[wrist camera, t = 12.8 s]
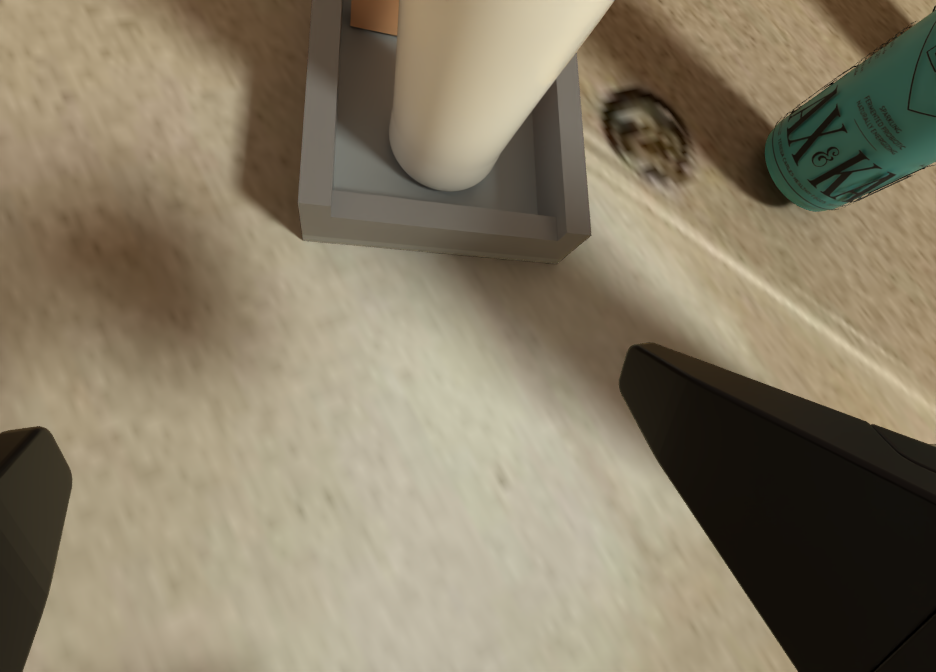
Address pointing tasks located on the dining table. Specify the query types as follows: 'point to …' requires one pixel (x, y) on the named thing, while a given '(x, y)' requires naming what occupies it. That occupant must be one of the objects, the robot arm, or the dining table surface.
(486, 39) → the drinking glass
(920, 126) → the beverage bottle
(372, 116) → the gray tray
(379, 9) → the block
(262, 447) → the dining table surface
